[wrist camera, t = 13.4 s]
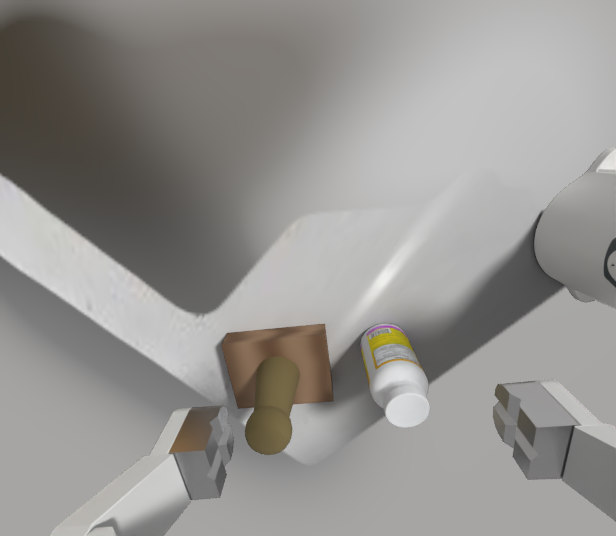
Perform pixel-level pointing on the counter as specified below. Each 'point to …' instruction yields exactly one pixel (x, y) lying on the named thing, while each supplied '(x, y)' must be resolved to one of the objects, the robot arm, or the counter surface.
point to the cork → (272, 406)
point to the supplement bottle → (395, 375)
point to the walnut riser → (284, 343)
